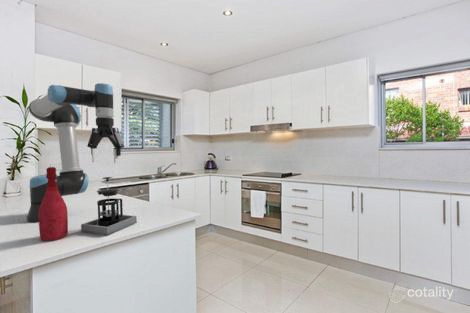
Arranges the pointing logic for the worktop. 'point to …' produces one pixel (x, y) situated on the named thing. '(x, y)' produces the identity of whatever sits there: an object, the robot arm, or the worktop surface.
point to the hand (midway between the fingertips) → (105, 162)
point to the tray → (101, 230)
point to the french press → (109, 219)
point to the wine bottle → (52, 211)
